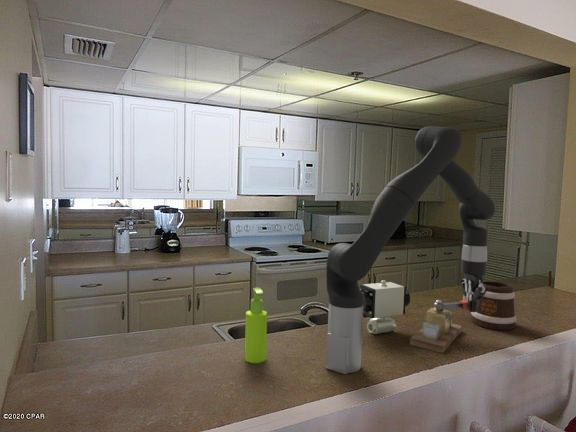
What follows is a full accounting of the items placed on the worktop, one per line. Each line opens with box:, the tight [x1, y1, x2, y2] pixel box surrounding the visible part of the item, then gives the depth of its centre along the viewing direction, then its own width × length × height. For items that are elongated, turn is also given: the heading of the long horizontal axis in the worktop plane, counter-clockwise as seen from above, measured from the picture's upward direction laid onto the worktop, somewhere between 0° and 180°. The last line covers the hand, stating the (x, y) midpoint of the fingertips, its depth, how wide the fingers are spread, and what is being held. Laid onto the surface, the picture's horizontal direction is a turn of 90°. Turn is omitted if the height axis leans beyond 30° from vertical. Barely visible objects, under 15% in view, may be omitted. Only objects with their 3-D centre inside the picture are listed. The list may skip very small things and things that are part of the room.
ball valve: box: [359, 279, 411, 335], centre depth 137 cm, size 18×8×18 cm, turn 115°
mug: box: [462, 280, 517, 331], centre depth 150 cm, size 20×15×15 cm
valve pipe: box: [422, 307, 453, 341], centre depth 133 cm, size 18×6×7 cm, turn 144°
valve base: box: [409, 323, 463, 354], centre depth 133 cm, size 24×10×2 cm, turn 144°
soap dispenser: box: [244, 287, 268, 364], centre depth 111 cm, size 6×7×20 cm
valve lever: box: [433, 299, 468, 312], centre depth 134 cm, size 13×3×3 cm, turn 107°
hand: (471, 311), depth 132 cm, fingers closed
